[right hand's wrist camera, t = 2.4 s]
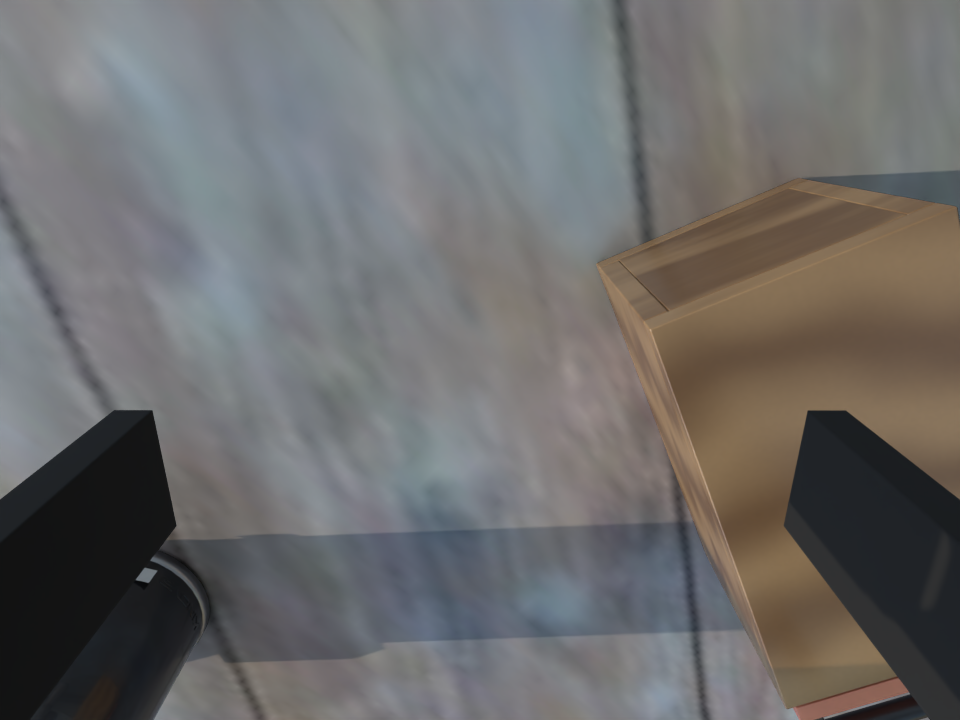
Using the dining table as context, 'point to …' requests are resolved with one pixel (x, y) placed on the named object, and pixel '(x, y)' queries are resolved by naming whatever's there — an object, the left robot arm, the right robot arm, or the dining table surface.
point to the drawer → (890, 716)
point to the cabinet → (793, 385)
